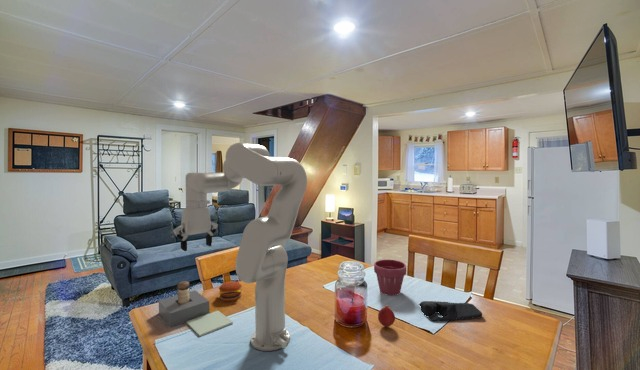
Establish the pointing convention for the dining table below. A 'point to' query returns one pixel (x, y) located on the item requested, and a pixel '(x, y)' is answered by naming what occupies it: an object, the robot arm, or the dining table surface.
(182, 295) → the plug
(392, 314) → the onion
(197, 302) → the socket block
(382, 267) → the plant pot
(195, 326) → the coaster
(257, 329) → the robot arm
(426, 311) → the black pouch
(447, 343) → the dining table surface
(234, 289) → the hamburger
